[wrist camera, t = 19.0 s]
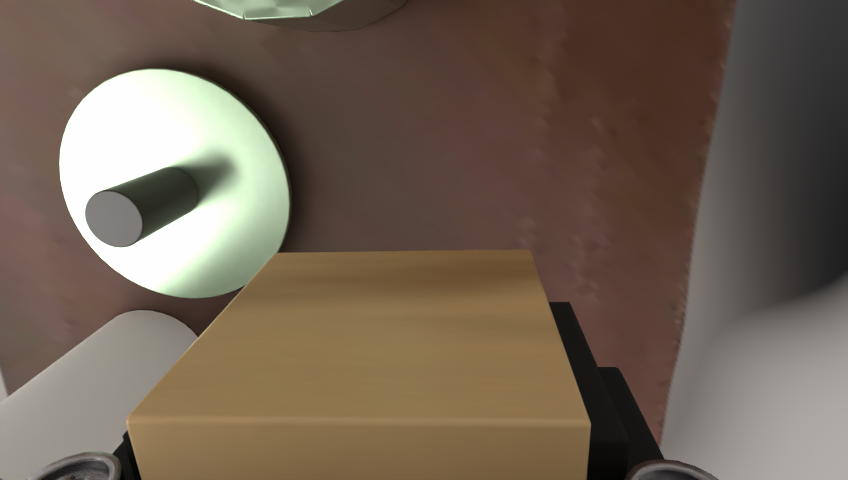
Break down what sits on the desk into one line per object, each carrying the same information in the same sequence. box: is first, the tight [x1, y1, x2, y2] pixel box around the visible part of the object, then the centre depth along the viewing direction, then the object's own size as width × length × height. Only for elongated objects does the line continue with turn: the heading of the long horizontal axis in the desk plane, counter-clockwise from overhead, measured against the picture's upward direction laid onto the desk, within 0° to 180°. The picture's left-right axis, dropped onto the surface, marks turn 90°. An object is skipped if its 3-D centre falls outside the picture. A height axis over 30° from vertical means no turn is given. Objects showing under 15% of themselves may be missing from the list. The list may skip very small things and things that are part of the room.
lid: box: [59, 68, 292, 298], centre depth 25 cm, size 12×12×6 cm
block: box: [126, 249, 591, 480], centre depth 9 cm, size 5×5×5 cm
